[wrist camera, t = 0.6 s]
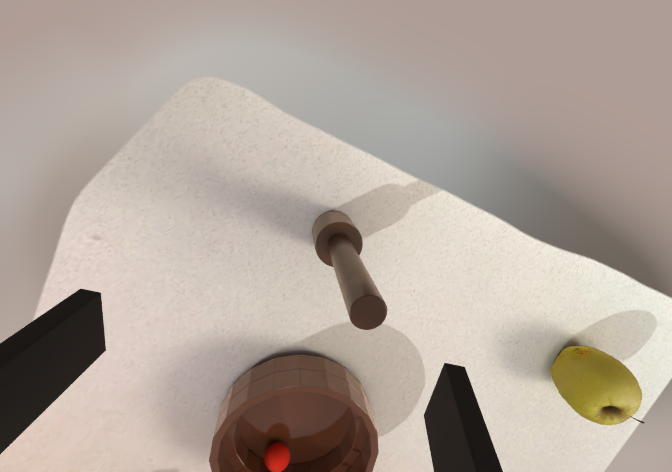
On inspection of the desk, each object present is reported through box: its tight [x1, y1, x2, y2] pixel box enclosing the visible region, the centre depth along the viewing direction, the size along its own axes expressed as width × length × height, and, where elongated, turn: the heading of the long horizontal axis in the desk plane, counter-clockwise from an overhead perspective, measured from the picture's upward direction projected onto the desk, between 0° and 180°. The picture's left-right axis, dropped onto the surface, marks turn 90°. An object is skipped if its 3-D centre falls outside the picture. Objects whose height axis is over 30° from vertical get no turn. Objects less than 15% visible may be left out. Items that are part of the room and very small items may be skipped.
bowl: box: [209, 354, 378, 472], centre depth 40 cm, size 18×18×6 cm
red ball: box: [264, 442, 290, 472], centre depth 41 cm, size 3×3×3 cm
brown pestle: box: [312, 211, 387, 330], centre depth 28 cm, size 4×4×18 cm
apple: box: [551, 346, 644, 425], centre depth 41 cm, size 8×8×10 cm
